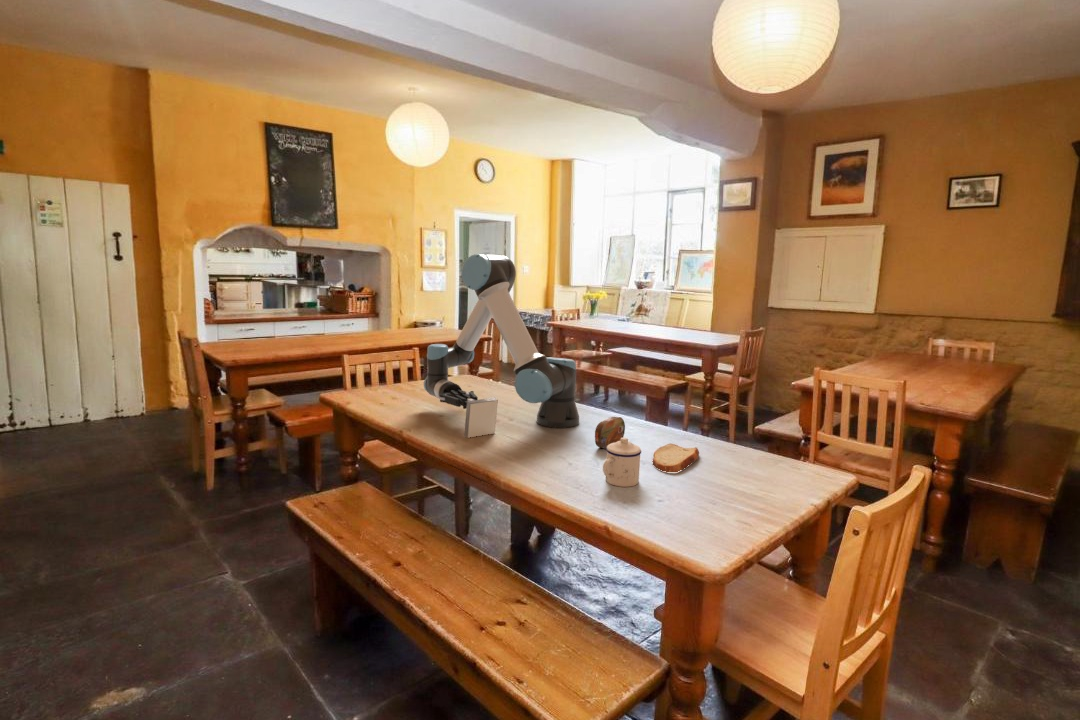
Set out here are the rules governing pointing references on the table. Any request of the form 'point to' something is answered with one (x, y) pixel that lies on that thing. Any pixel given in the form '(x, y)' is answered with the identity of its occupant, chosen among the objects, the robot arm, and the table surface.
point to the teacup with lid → (622, 463)
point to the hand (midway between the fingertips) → (477, 407)
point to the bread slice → (674, 457)
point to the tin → (609, 431)
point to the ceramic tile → (480, 417)
